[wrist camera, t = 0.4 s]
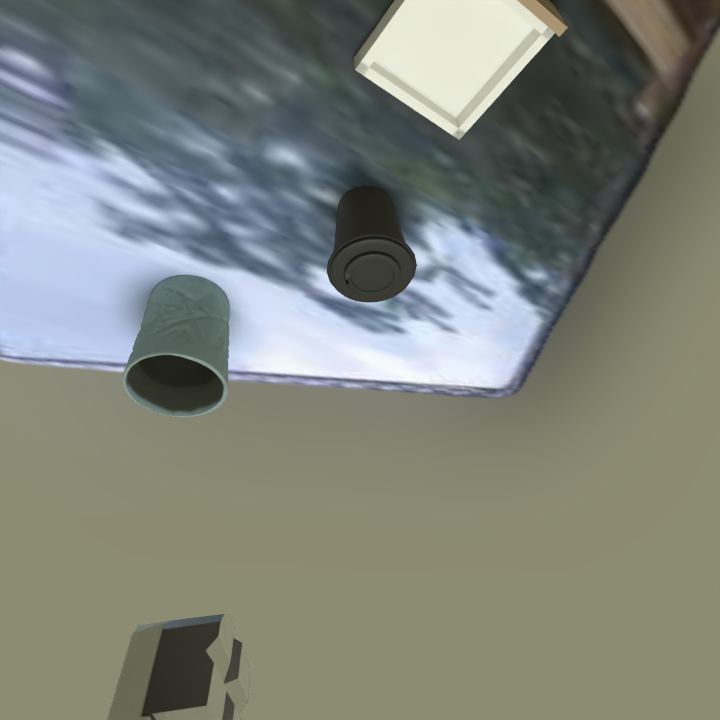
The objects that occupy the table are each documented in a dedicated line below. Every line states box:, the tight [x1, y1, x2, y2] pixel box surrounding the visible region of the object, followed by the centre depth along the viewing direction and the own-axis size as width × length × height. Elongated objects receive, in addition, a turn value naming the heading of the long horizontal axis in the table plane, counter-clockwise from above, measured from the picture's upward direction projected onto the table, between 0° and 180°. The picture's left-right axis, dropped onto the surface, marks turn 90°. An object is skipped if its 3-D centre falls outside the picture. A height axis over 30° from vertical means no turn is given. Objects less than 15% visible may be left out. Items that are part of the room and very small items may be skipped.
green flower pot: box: [123, 275, 229, 417], centre depth 70 cm, size 10×10×12 cm
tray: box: [354, 0, 555, 140], centre depth 53 cm, size 11×11×2 cm
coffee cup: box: [327, 186, 417, 302], centre depth 63 cm, size 8×8×10 cm
